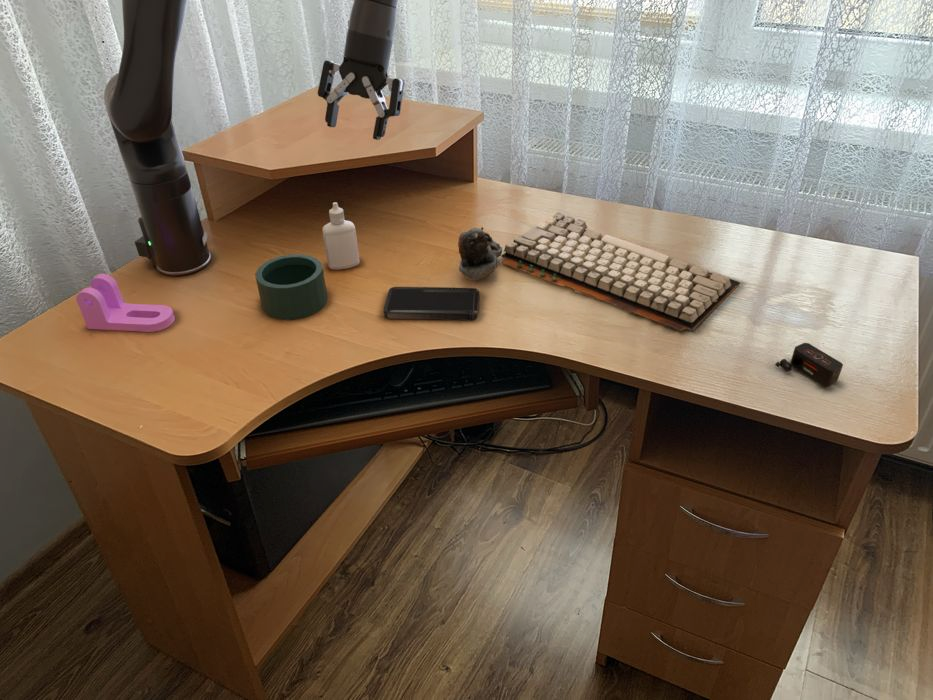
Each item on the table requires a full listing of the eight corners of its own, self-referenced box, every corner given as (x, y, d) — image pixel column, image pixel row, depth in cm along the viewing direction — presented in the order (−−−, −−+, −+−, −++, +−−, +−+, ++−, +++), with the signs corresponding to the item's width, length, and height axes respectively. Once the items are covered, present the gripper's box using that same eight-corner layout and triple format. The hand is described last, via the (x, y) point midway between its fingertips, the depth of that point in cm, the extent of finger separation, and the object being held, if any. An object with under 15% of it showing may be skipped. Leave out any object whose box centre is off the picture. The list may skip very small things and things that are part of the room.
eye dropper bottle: (355, 272, 129) (346, 209, 122) (324, 269, 130) (314, 207, 123) (362, 260, 132) (354, 198, 125) (333, 257, 133) (323, 196, 126)
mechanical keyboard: (740, 283, 123) (744, 266, 121) (689, 337, 111) (693, 319, 109) (551, 223, 142) (552, 207, 140) (491, 263, 131) (491, 247, 129)
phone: (476, 314, 115) (382, 312, 116) (476, 320, 116) (382, 318, 117) (479, 287, 121) (390, 285, 123) (479, 293, 122) (390, 291, 123)
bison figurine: (465, 252, 134) (463, 201, 128) (503, 253, 133) (504, 202, 127) (456, 287, 124) (453, 234, 118) (497, 289, 123) (497, 235, 117)
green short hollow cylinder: (249, 313, 119) (242, 281, 116) (284, 280, 127) (278, 250, 124) (306, 324, 116) (300, 292, 113) (338, 290, 124) (333, 259, 121)
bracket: (88, 328, 117) (72, 291, 113) (105, 309, 121) (91, 273, 117) (165, 332, 116) (152, 295, 111) (180, 312, 120) (168, 276, 116)
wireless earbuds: (795, 357, 106) (801, 338, 104) (838, 383, 101) (845, 364, 99) (773, 367, 105) (778, 349, 103) (816, 395, 100) (822, 376, 98)
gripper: (418, 44, 122) (399, 142, 128) (340, 25, 125) (325, 122, 131) (403, 41, 116) (383, 144, 121) (321, 20, 118) (306, 122, 124)
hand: (353, 132), depth 126 cm, fingers open, 8 cm apart
